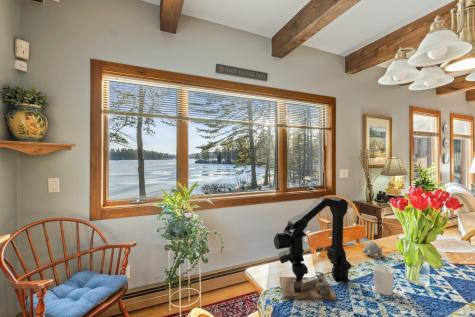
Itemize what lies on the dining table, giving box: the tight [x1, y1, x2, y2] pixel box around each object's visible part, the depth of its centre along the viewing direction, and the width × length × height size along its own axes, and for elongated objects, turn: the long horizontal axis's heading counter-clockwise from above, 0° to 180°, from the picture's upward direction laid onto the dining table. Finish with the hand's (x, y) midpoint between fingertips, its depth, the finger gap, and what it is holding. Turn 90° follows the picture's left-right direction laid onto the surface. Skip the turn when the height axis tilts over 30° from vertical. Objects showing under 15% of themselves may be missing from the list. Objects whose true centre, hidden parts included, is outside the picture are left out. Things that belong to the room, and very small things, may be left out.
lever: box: [294, 271, 325, 293], centre depth 104 cm, size 17×4×4 cm, turn 119°
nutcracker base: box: [279, 276, 338, 301], centre depth 105 cm, size 22×16×5 cm
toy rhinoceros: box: [362, 241, 383, 258], centre depth 141 cm, size 7×12×8 cm, turn 100°
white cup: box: [372, 264, 395, 296], centre depth 103 cm, size 8×8×10 cm
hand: (297, 279), depth 108 cm, fingers open, 7 cm apart
